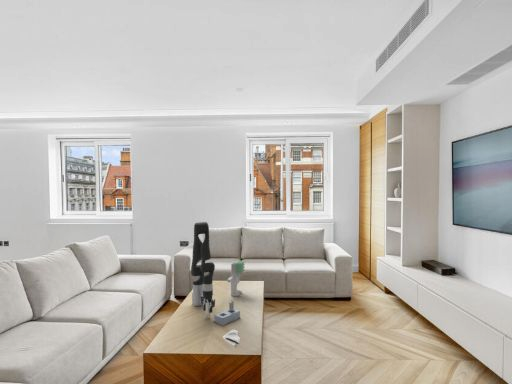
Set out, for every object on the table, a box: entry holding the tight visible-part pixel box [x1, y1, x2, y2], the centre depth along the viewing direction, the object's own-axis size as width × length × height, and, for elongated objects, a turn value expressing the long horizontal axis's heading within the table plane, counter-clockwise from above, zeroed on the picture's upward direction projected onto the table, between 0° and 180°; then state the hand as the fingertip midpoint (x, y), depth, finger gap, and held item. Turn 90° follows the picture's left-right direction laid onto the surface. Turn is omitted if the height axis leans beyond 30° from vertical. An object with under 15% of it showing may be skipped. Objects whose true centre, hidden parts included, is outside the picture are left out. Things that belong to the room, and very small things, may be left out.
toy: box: [226, 260, 245, 297], centre depth 295 cm, size 30×10×30 cm, turn 167°
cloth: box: [222, 328, 241, 347], centre depth 208 cm, size 26×14×2 cm, turn 174°
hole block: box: [213, 308, 241, 326], centre depth 237 cm, size 9×18×5 cm, turn 140°
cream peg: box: [205, 303, 211, 320], centre depth 240 cm, size 3×3×12 cm
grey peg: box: [228, 300, 235, 313], centre depth 241 cm, size 3×3×12 cm
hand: (207, 311), depth 240 cm, fingers open, 6 cm apart
